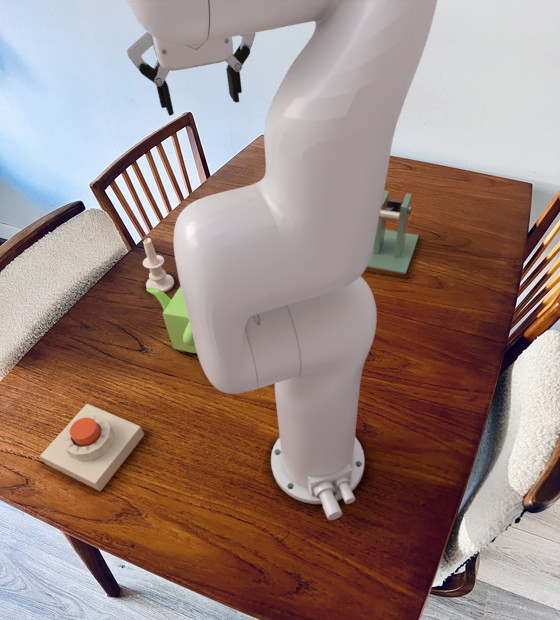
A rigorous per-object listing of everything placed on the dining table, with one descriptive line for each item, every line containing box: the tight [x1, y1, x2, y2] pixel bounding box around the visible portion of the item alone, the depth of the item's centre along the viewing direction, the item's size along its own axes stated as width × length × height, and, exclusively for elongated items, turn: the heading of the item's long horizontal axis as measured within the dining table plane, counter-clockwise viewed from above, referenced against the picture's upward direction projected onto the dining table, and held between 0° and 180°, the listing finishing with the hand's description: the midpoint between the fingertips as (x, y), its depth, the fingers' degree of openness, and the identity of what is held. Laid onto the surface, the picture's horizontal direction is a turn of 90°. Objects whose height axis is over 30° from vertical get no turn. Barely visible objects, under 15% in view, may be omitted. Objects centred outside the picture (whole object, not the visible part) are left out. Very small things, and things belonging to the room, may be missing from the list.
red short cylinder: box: [70, 418, 100, 446], centre depth 71 cm, size 4×4×2 cm
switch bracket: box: [366, 189, 420, 275], centre depth 95 cm, size 12×9×12 cm
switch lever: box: [379, 198, 403, 223], centre depth 88 cm, size 12×5×2 cm, turn 159°
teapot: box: [145, 285, 197, 354], centre depth 83 cm, size 15×13×11 cm
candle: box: [142, 237, 175, 293], centre depth 94 cm, size 5×5×10 cm
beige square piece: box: [39, 403, 145, 492], centre depth 73 cm, size 10×10×4 cm
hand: (202, 105), depth 75 cm, fingers open, 9 cm apart
